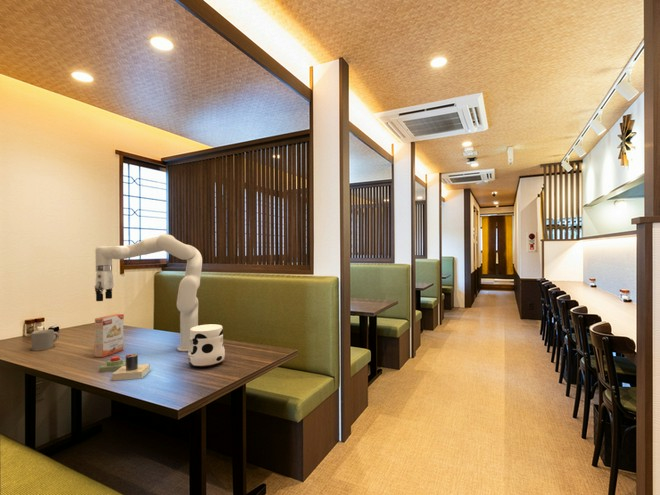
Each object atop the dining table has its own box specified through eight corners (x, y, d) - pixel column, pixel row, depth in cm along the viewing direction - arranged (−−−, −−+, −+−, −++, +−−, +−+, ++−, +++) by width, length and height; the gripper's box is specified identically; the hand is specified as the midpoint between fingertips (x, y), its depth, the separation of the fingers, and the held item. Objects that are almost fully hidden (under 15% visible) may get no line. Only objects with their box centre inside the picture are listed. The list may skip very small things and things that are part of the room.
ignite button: (120, 359, 166) (120, 355, 166) (117, 361, 162) (117, 358, 162) (112, 359, 165) (112, 356, 165) (109, 362, 161) (109, 358, 161)
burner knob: (139, 366, 156) (139, 352, 157) (135, 370, 152) (135, 356, 152) (128, 367, 156) (128, 353, 156) (123, 370, 151) (123, 356, 151)
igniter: (129, 364, 168) (129, 356, 168) (122, 370, 160) (122, 362, 160) (107, 366, 167) (107, 358, 167) (99, 372, 159) (99, 363, 159)
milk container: (231, 359, 174) (231, 324, 174) (212, 371, 157) (212, 332, 158) (201, 357, 178) (201, 323, 178) (180, 368, 161) (179, 331, 162)
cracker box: (103, 357, 180) (103, 318, 180) (94, 357, 181) (93, 318, 182) (124, 350, 194) (124, 313, 194) (115, 349, 195) (115, 313, 195)
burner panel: (150, 370, 160) (149, 363, 160) (142, 378, 150) (141, 371, 150) (122, 372, 158) (122, 365, 158) (112, 380, 148) (112, 373, 148)
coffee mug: (35, 351, 193) (35, 334, 194) (28, 349, 199) (28, 332, 199) (63, 345, 205) (63, 329, 205) (56, 343, 210) (56, 327, 210)
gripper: (103, 269, 178) (103, 301, 178) (118, 267, 195) (119, 297, 195) (87, 269, 177) (88, 302, 176) (104, 268, 194) (104, 297, 193)
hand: (104, 299), depth 186 cm, fingers open, 9 cm apart
